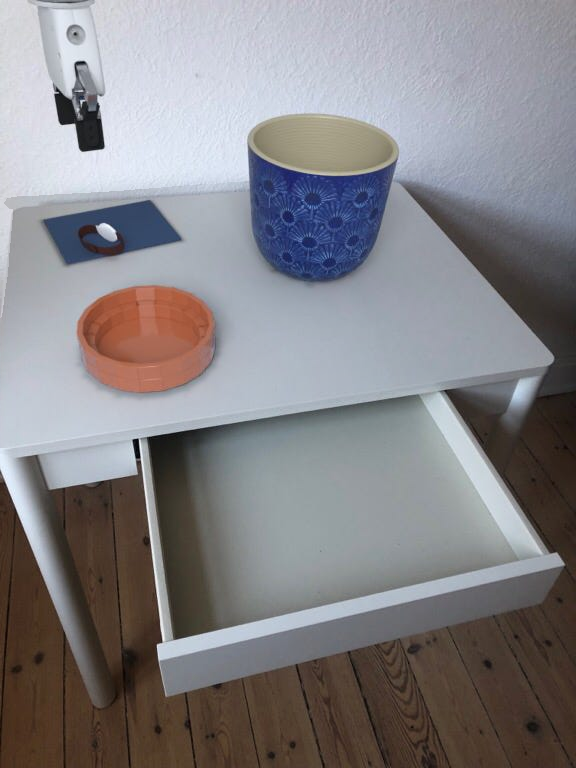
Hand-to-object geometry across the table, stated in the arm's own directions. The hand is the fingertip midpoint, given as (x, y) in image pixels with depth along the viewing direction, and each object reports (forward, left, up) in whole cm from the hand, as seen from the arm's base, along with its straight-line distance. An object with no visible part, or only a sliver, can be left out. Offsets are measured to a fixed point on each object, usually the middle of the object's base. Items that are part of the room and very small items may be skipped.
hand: (81, 136), depth 84 cm
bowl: (-1, -25, -18) cm, 31 cm away
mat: (+4, +6, -18) cm, 20 cm away
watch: (+1, +1, -18) cm, 18 cm away
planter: (+29, -15, -18) cm, 37 cm away
